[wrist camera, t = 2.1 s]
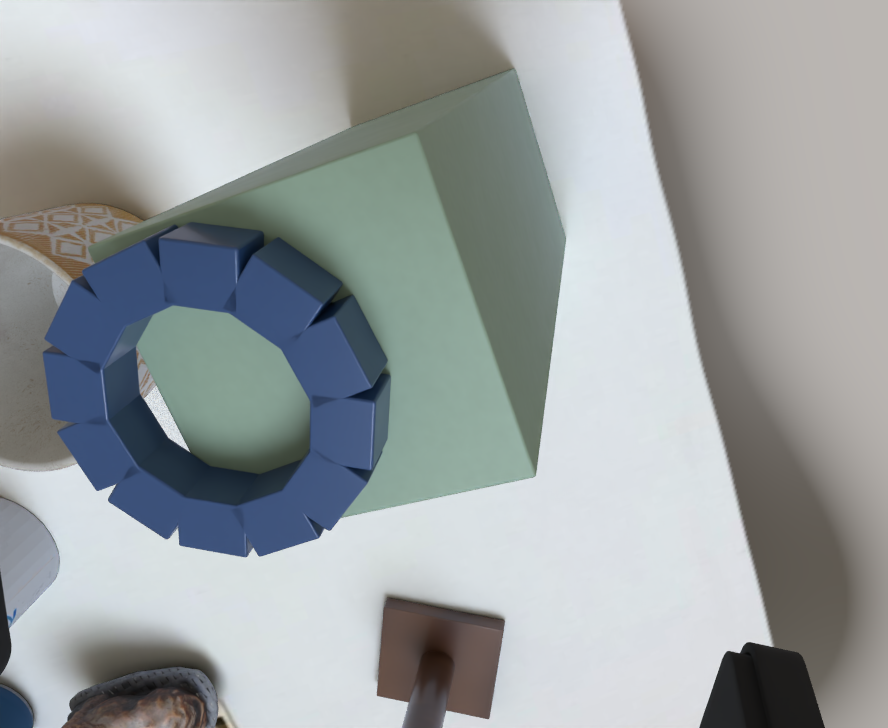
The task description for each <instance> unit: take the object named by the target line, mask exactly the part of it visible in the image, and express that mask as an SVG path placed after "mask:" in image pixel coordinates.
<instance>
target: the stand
mask: <svg viewBox="0 0 888 728" xmlns="http://www.w3.org/2000/svg"><path fill="white" fill-rule="evenodd" d="M504 625H505V621H504V620H499V619H494V618H489V617H484V616H479V615H474V614H469V613H463V612H458V611H453V610H448V609H443V608H438V607H433V606H428V605H422V604H417V603H412V602H407V601H402V600H397V599H392V598H387V600H386V603H385V605H384V612H383V624H382V637H381V649H380V661H379V674H378V686H377V696H381V697H385V698H390V699H395V700H400V701H404V702H409V704H408V707H407V711H406V715H405V719H404V722H403V726H402V728H442V727H443V722H444V717H445V713H446V710H447V711H452V712H457V713H461V714H466V715H471V716H476V717H480V718H485V719H489V718H490V711H491V705H492V699H493V693H494V687H495V681H496V675H497V668H498V662H499V656H500V650H501V644H502V638H503V631H504Z"/></svg>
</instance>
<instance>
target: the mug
mask: <svg viewBox="0 0 888 728" xmlns="http://www.w3.org/2000/svg"><path fill="white" fill-rule="evenodd" d="M58 571H59V554H58V550H57V547H56V544H55V542H54V540H53V538H52V536H51V534H50V533H49V531H48V530H47V529H46V528H45V526H44V525H43V524H42V523H41V522H40V521H39V520H38V519H37V518H36V517H35V516H34V515H33V514H32V513H30V512H29V511H27V510H26V509H25V508H23V507H21V506H20V505H18V504H16V503H14V502H12V501H9V500H6V499H4V498H0V572H1V578H2V585H3V592H4V599H5V605H6V612H7V619H8V625H9V628H10V627H11V626H12V625H13V624H14V623H15V622H16V621H17V619H18V618H19V617H20V616H21V615H22V614H23V613H24V612H25V611H26V610H27V609H28V608H29V607H30V606H31V605H32V604H33V603H34V602H35V601H36V600H37V599H38V598H39V596H40V595H41V594H42V593H43V592H44V591H45V590H46V589H47V588H48V587H49V586H50V585H51V584H52V582H53V581H54V580H55V578H56V576H57V574H58Z"/></svg>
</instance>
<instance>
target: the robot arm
mask: <svg viewBox="0 0 888 728" xmlns="http://www.w3.org/2000/svg"><path fill="white" fill-rule="evenodd" d="M10 654H11V639H10V632H9V625H8V619H7V612H6V605H5V599H4V592H3V585H2V578H1V572H0V675H1V673H2V672H3V671H4V669H5V667H6V665H7V663H8V661H9V658H10ZM699 728H825V727H824V724H823V720H822V717H821V714H820V710H819V707H818V704H817V701H816V697H815V694H814V691H813V688H812V684H811V681H810V678H809V674H808V671H807V668H806V665H805V662H804V660H803V657H802V656H801V655H800V654H799V653H797V652H792V651H788V650H783V649H779V648H774V647H769V646H765V645H760V644H756V643H751V642H748V643H746V644H745V645H744V646H743V648H742V650H741V652H740V653H735V652H731V651H727V652H726V653H725V655H724V657H723V659H722V662H721V665H720V668H719V671H718V674H717V677H716V680H715V683H714V686H713V689H712V692H711V695H710V698H709V701H708V704H707V707H706V710H705V712H704V715H703V718H702V721H701V724H700V727H699Z"/></svg>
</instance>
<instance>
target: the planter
mask: <svg viewBox="0 0 888 728" xmlns="http://www.w3.org/2000/svg"><path fill="white" fill-rule="evenodd" d="M141 222H143V220H141V219H140V218H138V217H136V216H134V215H132V214H130V213H128V212H126V211H124V210H121V209H118V208H115V207H112V206H108V205H102V204H93V203H80V204H72V205H67V206H62V207H57V208H52V209H47V210H42V211H37V212H32V213H27V214H22V215H17V216H12V217H7V218H3V219H0V466H4V467H8V468H12V469H17V470H24V471H52V470H58V469H62V468H66V467H69V466H72V465H75V464H77V461H76V460H75V458H74V457H73V455H72V454H71V453H70V451H69V450H68V448H67V447H66V445H65V444H64V442H63V441H62V439H61V438H60V436H59V435H58V433H57V431H58V430H59V429H60V428H62V427H63V426H64V425H66V424H67V423H68V422H67V421H61V420H54V419H52V417H51V411H50V404H49V397H48V389H47V382H46V375H45V368H44V361H43V351H45V350H46V349H48V348H50V347H51V346H53V345H52V344H50V343H49V342H47V341H46V340H45V339H44V338H45V335H46V333H47V331H48V329H49V327H50V325H51V323H52V321H53V319H54V317H55V314H56V312H57V310H58V308H59V306H60V304H61V302H62V300H63V298H64V296H65V294H66V291H67V289H68V287H69V285H70V283H71V281H72V280H74V279H76V278H78V277H80V276H82V275H83V274H82V270H83V269H85V268H87V267H89V266H91V265H93V264H95V263H94V261H93V259H92V257H91V255H90V253H89V251H88V247H89V246H90V245H92V244H95V243H97V242H99V241H101V240H104V239H106V238H108V237H110V236H112V235H115V234H117V233H119V232H121V231H123V230H126V229H128V228H130V227H132V226H134V225H137V224H139V223H141ZM136 353H137V364H138V376H139V387H140V394H141V396H142V397H143V399H144V398H145V397H146V396H147V395H148V394H149V393H150V391H151V390H152V389H153V388H154V387H155V386H156V383H155V381H154V379H153V377H152V375H151V374H150V372H149V370H148V368H147V366H146V364H145V362H144V360H143V358H142V356H141V354H140V352H139V350H138V348H137V346H136Z"/></svg>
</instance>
